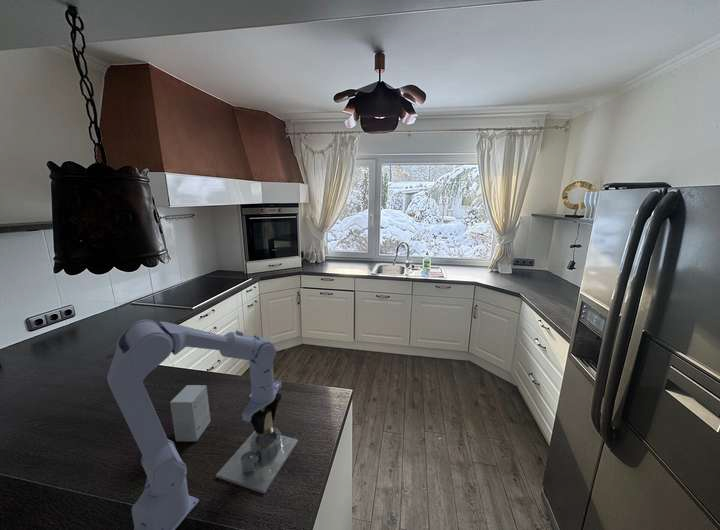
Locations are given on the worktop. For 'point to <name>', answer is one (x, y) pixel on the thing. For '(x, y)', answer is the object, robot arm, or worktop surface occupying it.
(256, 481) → the manifold plate
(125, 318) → the worktop surface
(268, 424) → the brass rounded plug
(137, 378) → the robot arm
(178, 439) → the small box
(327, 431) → the worktop surface
